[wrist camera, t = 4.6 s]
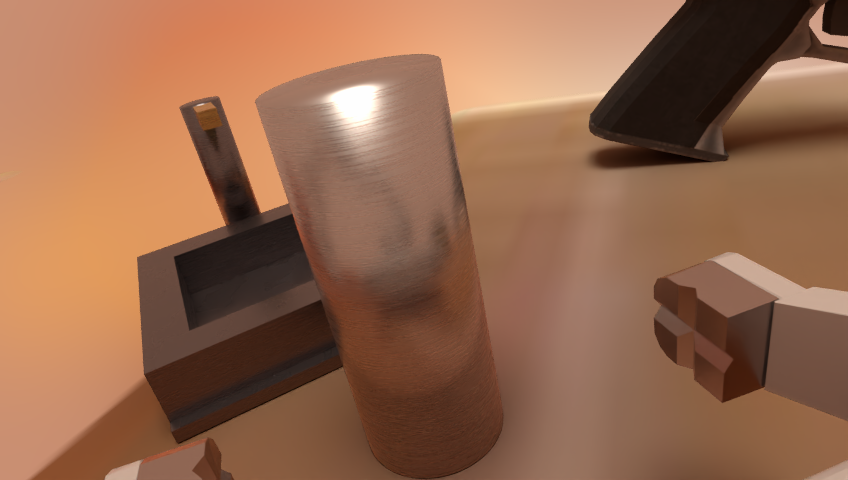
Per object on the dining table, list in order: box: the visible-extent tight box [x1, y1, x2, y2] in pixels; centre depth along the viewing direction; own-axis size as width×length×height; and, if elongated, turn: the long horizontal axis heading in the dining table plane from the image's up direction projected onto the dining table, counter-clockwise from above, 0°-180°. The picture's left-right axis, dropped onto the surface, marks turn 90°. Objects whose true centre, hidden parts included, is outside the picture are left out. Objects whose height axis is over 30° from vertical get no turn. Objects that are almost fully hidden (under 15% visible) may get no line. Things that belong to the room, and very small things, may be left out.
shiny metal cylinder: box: [255, 54, 503, 478], centre depth 14 cm, size 4×4×10 cm
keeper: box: [137, 96, 343, 443], centre depth 23 cm, size 10×13×8 cm
